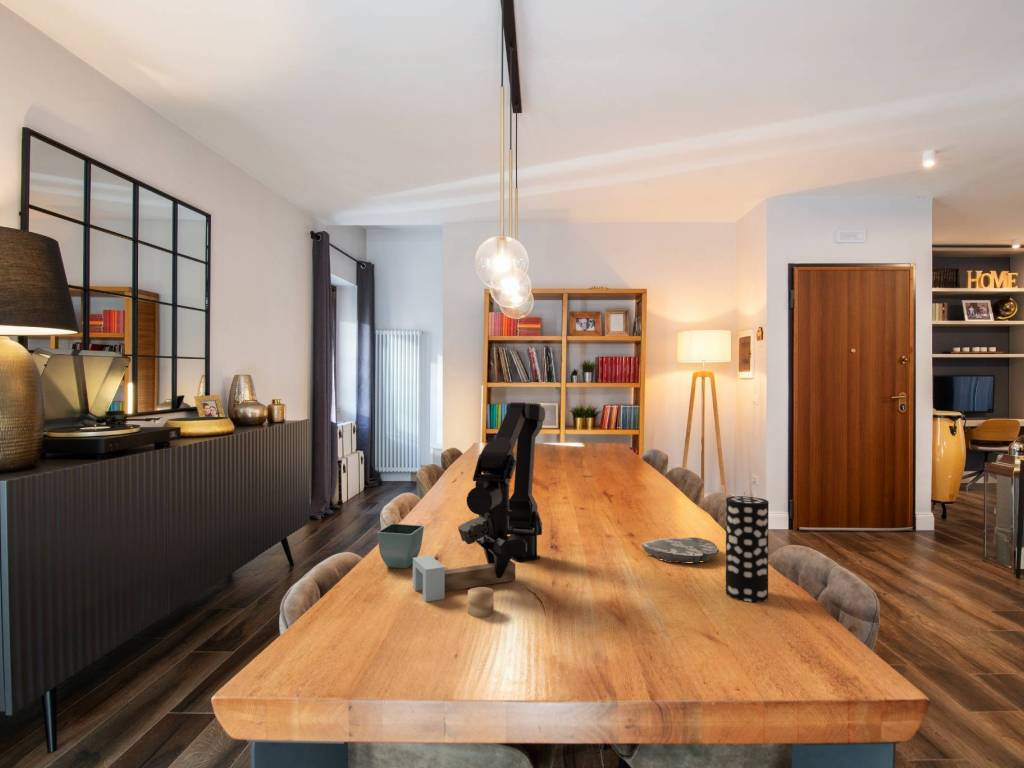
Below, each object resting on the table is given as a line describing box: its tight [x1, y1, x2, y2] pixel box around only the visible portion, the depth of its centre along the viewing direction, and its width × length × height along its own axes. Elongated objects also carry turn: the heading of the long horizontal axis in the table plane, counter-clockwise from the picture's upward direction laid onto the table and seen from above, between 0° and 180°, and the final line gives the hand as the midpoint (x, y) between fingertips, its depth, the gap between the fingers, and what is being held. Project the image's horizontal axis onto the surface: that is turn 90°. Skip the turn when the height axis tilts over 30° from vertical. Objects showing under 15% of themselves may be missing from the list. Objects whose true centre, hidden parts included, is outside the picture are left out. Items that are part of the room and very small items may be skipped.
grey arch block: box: [412, 555, 446, 602], centre depth 122 cm, size 4×9×6 cm, turn 27°
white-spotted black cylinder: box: [725, 495, 769, 603], centre depth 122 cm, size 8×8×20 cm
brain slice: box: [641, 536, 720, 563], centre depth 149 cm, size 20×17×3 cm
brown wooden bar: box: [444, 559, 517, 592], centre depth 127 cm, size 18×3×4 cm, turn 112°
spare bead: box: [467, 586, 495, 618], centre depth 112 cm, size 5×5×4 cm
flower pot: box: [376, 523, 425, 569], centre depth 141 cm, size 9×9×9 cm
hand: (495, 575), depth 129 cm, fingers closed on brown wooden bar, 3 cm apart
